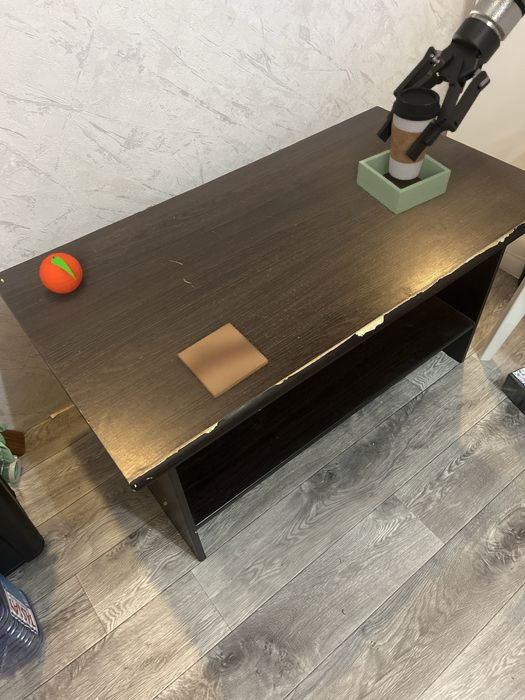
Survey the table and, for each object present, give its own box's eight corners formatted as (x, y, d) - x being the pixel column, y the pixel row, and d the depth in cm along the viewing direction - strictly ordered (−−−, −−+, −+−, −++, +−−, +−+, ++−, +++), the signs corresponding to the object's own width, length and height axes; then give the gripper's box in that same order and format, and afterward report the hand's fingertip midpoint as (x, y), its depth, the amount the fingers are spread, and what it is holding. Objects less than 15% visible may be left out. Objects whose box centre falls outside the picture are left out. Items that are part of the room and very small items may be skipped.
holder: (445, 192, 101) (451, 170, 97) (396, 214, 97) (400, 192, 93) (403, 163, 107) (407, 142, 104) (356, 183, 104) (358, 161, 100)
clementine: (100, 286, 89) (87, 256, 83) (69, 310, 86) (53, 280, 80) (71, 268, 92) (56, 238, 86) (40, 291, 89) (23, 260, 83)
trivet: (268, 362, 77) (268, 359, 76) (215, 398, 73) (214, 395, 73) (229, 325, 82) (229, 322, 81) (178, 357, 78) (177, 354, 78)
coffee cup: (378, 179, 98) (389, 102, 86) (386, 156, 102) (399, 80, 91) (422, 187, 96) (440, 108, 84) (428, 163, 100) (447, 86, 89)
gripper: (538, 63, 82) (441, 182, 91) (449, 25, 94) (370, 134, 102) (527, 35, 77) (424, 164, 85) (434, -2, 88) (351, 116, 96)
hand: (395, 148), depth 93 cm, fingers closed on coffee cup, 8 cm apart
